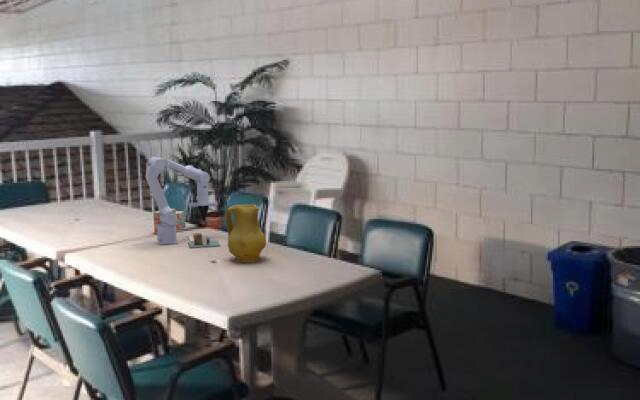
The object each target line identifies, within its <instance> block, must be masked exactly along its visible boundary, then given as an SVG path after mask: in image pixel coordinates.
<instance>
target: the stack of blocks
mask: <svg viewBox="0 0 640 400" xmlns="http://www.w3.org/2000/svg"><path fill="white" fill-rule="evenodd" d="M171 209H172V211H173V213H174V214H175V215H176V216H177V223H176V231H179V230H181V229H185V228H186V214H185V213H186V212H185V211H181V210H180V211H179V210H177V209H176V208H171ZM161 224H162V222H161V221H160V214H159V210H156V211H154V212H153V229H154V232H153V233H154V235H158V226H161Z"/></svg>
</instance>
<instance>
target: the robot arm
mask: <svg viewBox="0 0 640 400" xmlns="http://www.w3.org/2000/svg"><path fill="white" fill-rule="evenodd" d="M145 166H146V167H145V168H146V170H145V179H146V182H147V184H148V186H149V189H150V192H151V194H152V196H153V199H154V200H155V203H156V205H157V207H158V208H157V209H158V211H159V214H160V221H161V222H162V224H161V226H158V234H157V237H156V238H157V239H156V241H157V242H158V245H172V244H173V245H174V244H179V241H178V238H177V237H178V236H177V230H176V223H177V216H176V215H175V214H174V213H173V211H172V209H173V208H171V207H170V205H169V202H168V200H167V198H166V196H165V193H164V191H163V189H162V186H161V184H160V182H159V179H158V177H159V175H160V174H161V173H162V172H163V171H164V170H165V169H170V168H171V169H173V170H174V171H175V170H176V171H178V172H181V173H182V174H183V175H182V176H184V177H186V178H189V179H192V180H193V181H196V194H197V195H196V197H197V198H196V199H197V202H189V203H188V208H198V211H199V212H200V215H201V216H200V217H201V220H202V222H203V221H204V222H205V221H206V218H207V217H206V216H207V214H208V211H209V207H218V201H209V200H210V199H209V196H210V195H209V181H210V180H211V177H210V174H209V173H208V172H207V171H202V169H201V168H199V169H198V168H196V167H194V165H192V164H190V165H186V166H184V165H182V164H180V163H178V162H176V161H174V160H170V159H167V158H163V157H158V156H154V155H153V156H150V157H149V158H148V159H147V161H146V163H145Z"/></svg>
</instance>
